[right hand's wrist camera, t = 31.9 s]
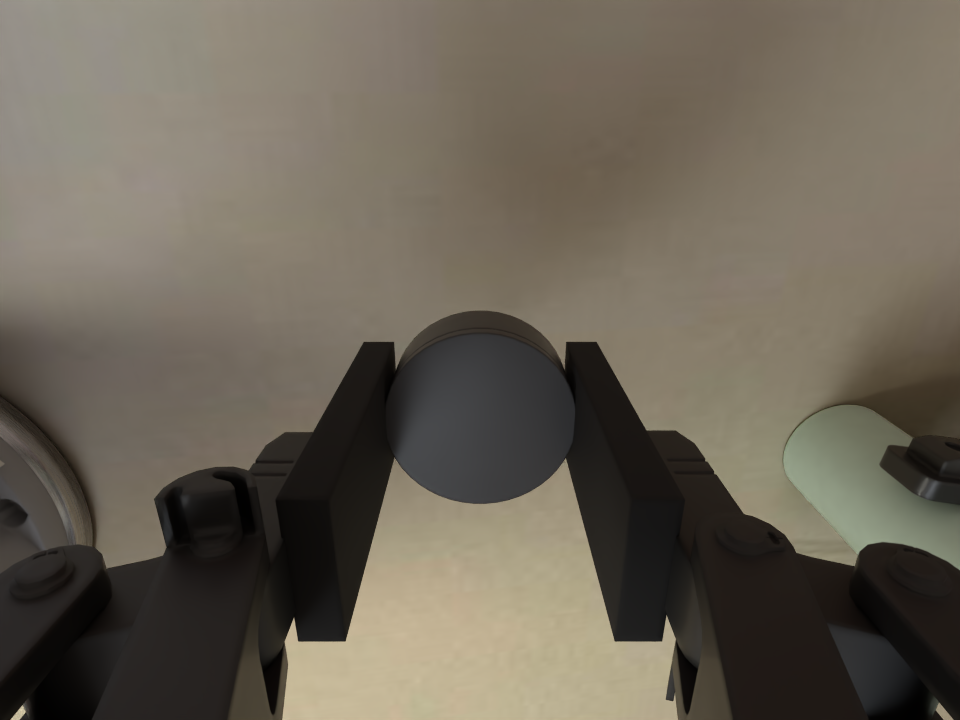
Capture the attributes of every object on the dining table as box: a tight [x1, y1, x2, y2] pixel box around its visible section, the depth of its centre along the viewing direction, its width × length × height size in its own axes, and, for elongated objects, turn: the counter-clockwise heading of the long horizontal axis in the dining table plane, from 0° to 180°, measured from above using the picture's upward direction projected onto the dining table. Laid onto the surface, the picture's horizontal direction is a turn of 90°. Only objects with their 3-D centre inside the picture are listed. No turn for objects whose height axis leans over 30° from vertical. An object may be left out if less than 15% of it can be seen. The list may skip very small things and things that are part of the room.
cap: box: [385, 311, 575, 504], centre depth 14 cm, size 4×4×2 cm
